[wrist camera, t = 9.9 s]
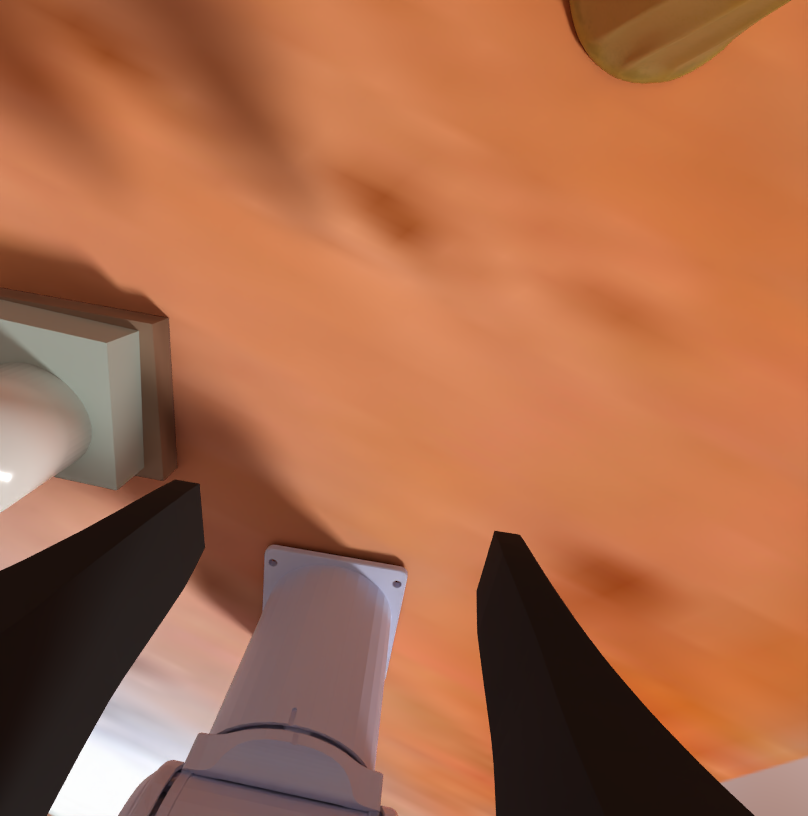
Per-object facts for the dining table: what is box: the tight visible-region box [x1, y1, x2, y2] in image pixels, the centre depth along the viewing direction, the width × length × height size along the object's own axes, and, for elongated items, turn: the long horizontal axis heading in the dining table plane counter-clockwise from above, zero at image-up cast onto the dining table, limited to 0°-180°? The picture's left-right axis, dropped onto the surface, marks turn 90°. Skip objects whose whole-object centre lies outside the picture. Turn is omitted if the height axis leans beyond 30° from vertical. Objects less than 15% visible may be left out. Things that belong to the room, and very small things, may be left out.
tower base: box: [0, 288, 177, 481], centre depth 21 cm, size 8×8×2 cm
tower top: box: [0, 299, 144, 490], centre depth 19 cm, size 7×7×2 cm
